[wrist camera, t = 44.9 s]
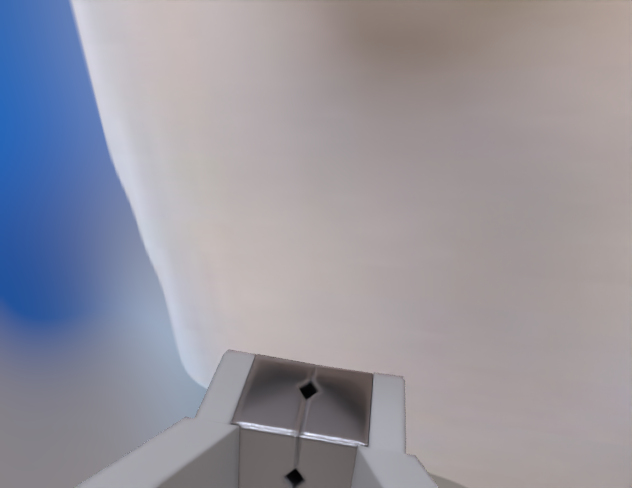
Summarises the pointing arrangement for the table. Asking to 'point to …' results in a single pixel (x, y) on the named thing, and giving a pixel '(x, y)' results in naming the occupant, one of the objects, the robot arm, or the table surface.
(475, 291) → the table surface
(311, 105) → the table surface
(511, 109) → the table surface
